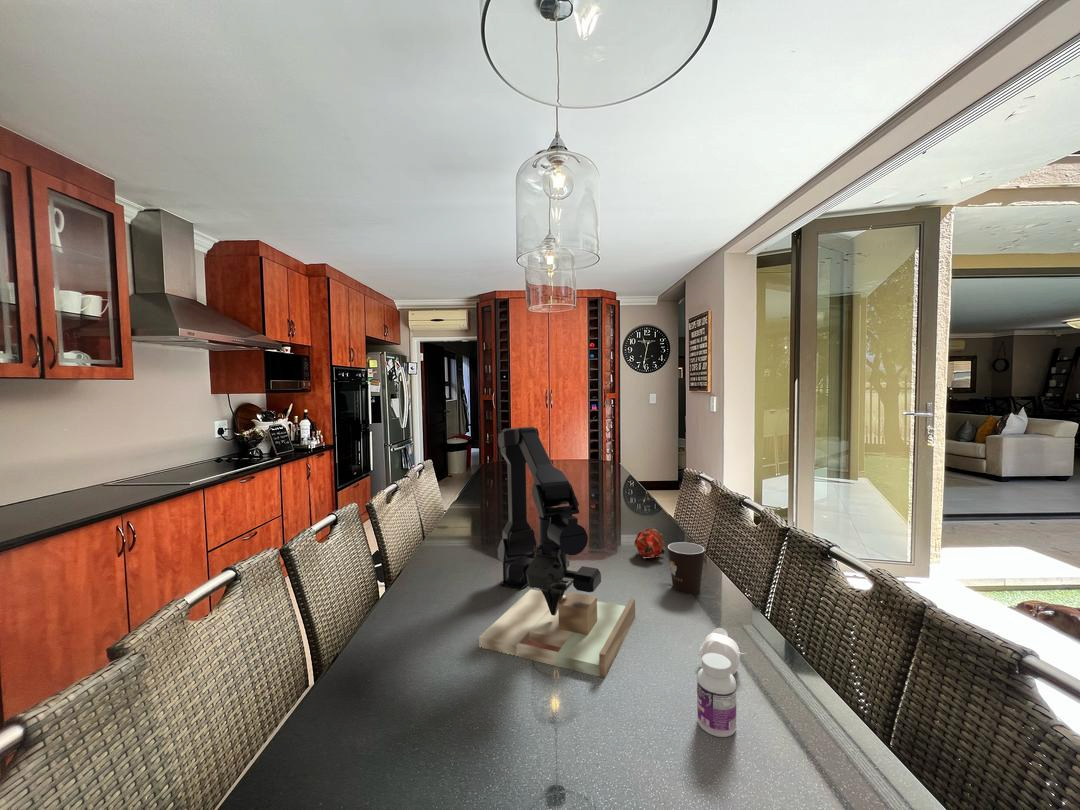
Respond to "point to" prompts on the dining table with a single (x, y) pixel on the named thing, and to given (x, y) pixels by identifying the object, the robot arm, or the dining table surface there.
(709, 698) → the pill bottle
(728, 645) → the elephant figurine
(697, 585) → the coffee mug
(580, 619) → the walnut block
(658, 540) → the dragon fruit
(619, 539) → the dining table surface
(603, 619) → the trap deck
